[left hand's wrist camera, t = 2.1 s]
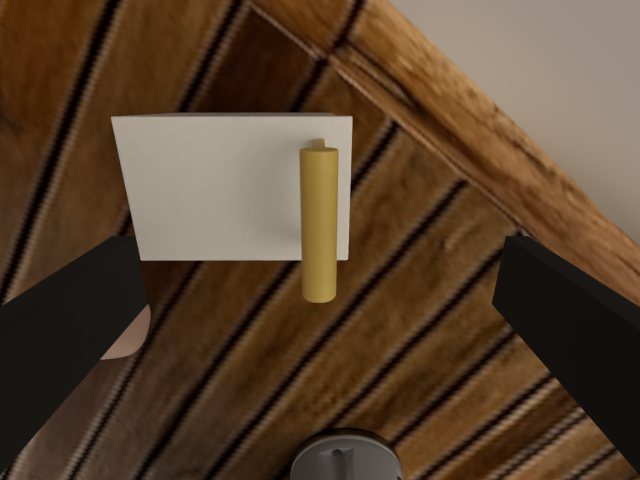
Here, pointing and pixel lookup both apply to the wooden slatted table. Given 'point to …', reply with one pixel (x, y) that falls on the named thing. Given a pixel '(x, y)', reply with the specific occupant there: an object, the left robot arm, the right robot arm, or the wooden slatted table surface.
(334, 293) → the lid
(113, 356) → the anatomical model
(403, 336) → the wooden slatted table surface
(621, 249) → the wooden slatted table surface
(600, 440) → the wooden slatted table surface
